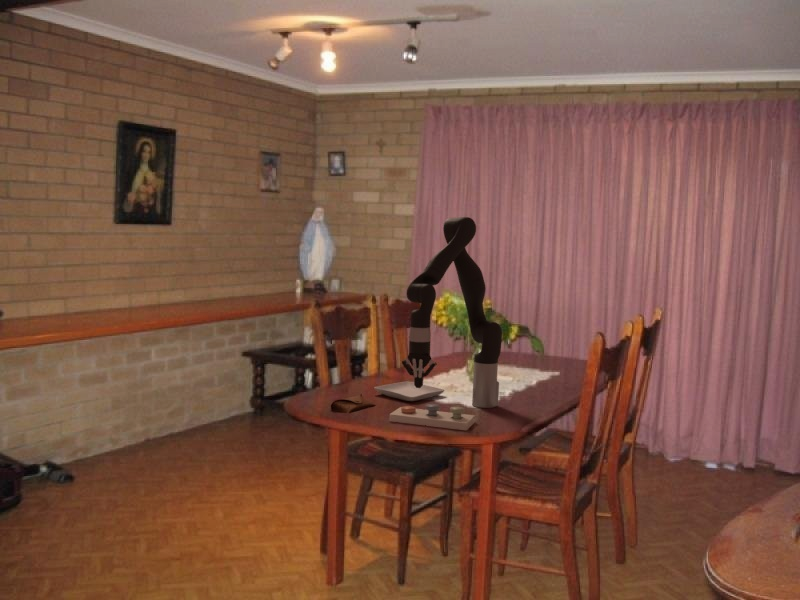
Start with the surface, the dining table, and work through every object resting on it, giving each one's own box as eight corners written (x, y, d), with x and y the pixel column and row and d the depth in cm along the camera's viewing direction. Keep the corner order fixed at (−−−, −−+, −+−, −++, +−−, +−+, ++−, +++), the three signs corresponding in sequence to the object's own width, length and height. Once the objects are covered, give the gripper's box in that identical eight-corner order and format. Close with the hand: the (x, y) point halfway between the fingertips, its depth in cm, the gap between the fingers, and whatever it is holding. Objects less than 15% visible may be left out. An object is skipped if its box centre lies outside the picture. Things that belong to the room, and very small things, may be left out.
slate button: (435, 413, 282) (435, 403, 282) (442, 417, 277) (442, 406, 277) (422, 415, 280) (422, 404, 279) (429, 418, 275) (429, 407, 275)
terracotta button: (411, 415, 285) (411, 405, 285) (417, 419, 280) (418, 409, 280) (398, 417, 283) (398, 406, 282) (404, 420, 278) (405, 410, 278)
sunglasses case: (348, 413, 286) (341, 396, 287) (335, 420, 290) (328, 403, 291) (377, 405, 301) (370, 388, 302) (364, 411, 305) (358, 395, 306)
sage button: (459, 416, 279) (460, 406, 279) (467, 420, 274) (467, 409, 274) (446, 417, 277) (447, 407, 276) (454, 421, 272) (454, 410, 272)
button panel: (474, 422, 280) (474, 415, 280) (466, 430, 269) (466, 423, 268) (400, 413, 289) (400, 406, 289) (389, 421, 278) (389, 414, 277)
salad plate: (445, 397, 320) (446, 388, 320) (411, 405, 304) (412, 396, 304) (407, 388, 334) (407, 380, 334) (372, 395, 318) (372, 387, 318)
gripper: (440, 339, 279) (439, 387, 281) (405, 336, 284) (404, 383, 285) (434, 342, 272) (433, 391, 274) (398, 339, 277) (397, 387, 278)
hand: (418, 387), depth 280 cm, fingers closed
